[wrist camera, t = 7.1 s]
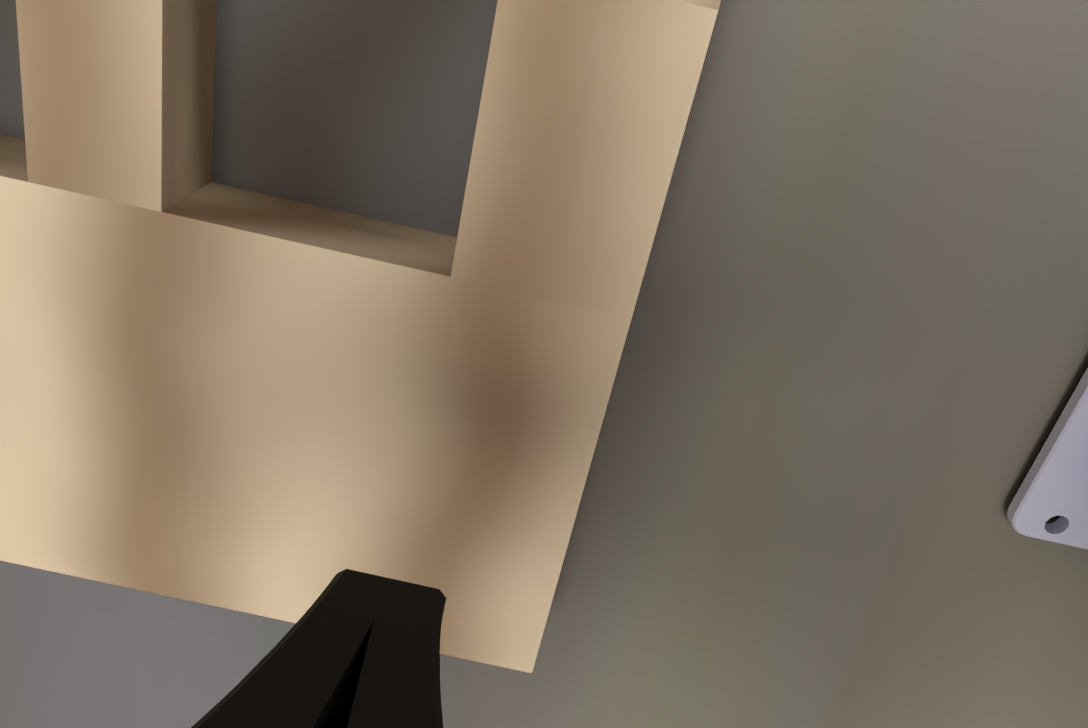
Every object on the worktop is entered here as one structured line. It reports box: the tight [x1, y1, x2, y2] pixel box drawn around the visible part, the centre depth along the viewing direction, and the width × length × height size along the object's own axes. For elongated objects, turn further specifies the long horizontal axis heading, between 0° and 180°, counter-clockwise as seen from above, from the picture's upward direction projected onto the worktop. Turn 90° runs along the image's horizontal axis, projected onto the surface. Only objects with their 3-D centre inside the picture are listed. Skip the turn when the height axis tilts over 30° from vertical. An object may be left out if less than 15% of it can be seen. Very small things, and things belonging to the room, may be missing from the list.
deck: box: [0, 0, 721, 673], centre depth 17 cm, size 23×16×4 cm
